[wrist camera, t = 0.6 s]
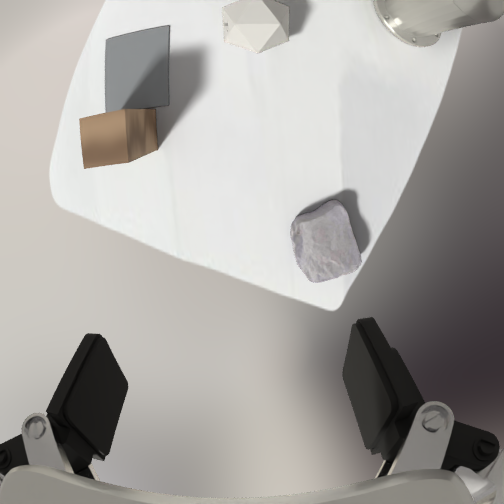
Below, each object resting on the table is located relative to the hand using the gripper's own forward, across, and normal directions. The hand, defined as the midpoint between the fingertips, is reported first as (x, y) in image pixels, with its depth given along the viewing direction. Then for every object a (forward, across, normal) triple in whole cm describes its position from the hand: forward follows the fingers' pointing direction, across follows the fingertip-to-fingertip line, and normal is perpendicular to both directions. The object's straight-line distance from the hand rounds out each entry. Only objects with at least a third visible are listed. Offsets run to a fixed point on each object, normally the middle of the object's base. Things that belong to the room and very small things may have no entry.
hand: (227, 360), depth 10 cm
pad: (+33, +13, -18) cm, 40 cm away
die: (+33, -4, -22) cm, 40 cm away
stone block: (+34, -12, +11) cm, 37 cm away
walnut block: (+33, +14, -9) cm, 37 cm away
